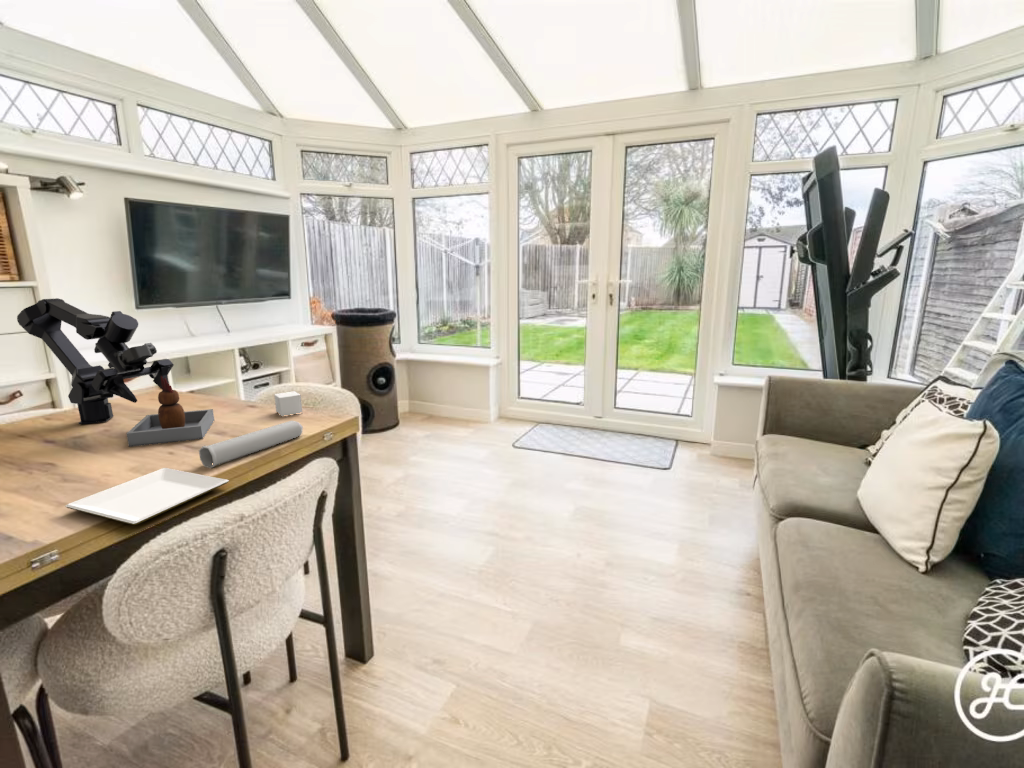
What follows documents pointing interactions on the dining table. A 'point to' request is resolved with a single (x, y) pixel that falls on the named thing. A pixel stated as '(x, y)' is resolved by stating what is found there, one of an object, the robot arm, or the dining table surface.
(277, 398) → the light grey cube
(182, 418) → the wooden figurine
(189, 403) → the dining table surface
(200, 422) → the box
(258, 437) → the tube
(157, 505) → the plate
